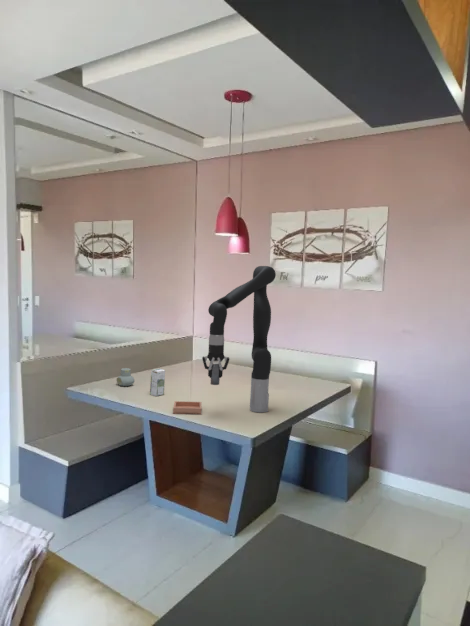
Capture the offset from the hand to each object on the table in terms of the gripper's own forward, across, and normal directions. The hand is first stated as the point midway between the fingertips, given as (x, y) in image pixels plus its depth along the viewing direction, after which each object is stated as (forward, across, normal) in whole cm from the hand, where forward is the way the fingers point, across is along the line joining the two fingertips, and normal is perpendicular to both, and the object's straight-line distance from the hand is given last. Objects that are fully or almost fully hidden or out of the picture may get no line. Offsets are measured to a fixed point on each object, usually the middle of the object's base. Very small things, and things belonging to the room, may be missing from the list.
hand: (215, 377), depth 232 cm
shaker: (+3, 0, 0) cm, 3 cm away
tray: (+19, +13, -6) cm, 24 cm away
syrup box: (+19, +31, -35) cm, 51 cm away
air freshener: (+19, +52, -55) cm, 78 cm away
